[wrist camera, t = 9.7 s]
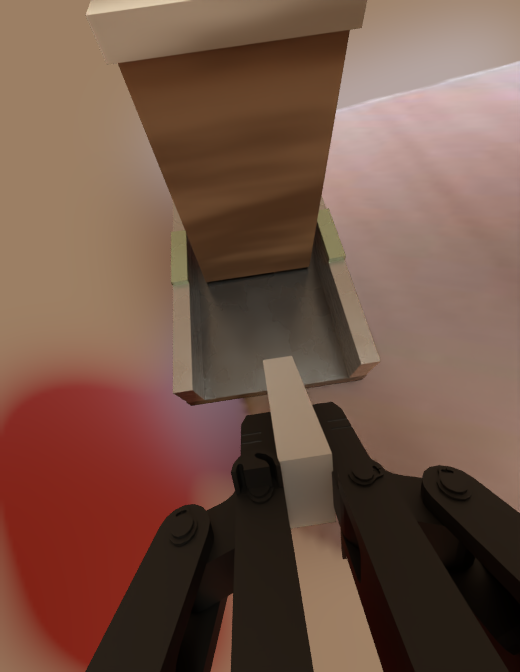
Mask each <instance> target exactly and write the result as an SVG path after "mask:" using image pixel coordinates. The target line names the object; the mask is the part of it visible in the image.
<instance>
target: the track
mask: <svg viewBox="0 0 520 672" xmlns="http://www.w3.org/2000/svg"><path fill="white" fill-rule="evenodd" d="M345 257H346V255H345V252H344V250H343V247H342V244H341V241H340V239H339V236H338V233H337V230H336V228H335V225H334V222H333V219H332V217H331V214H330V211H329V209H326V207H325V204H324V201H323V198H322V195H321V201H320V207H319V213H318V218H317V224H316V230H315V236H314V242H313V247H312V253H311V259H310V265H309V267H304V268H298V269H291V270H284V271H278V272H271V273H265V274H258V275H251V276H245V277H238V278H231V279H225V280H218V281H211V282H206V281H205V279H204V276H203V274H202V271H201V269H200V266H199V264H198V261H197V259H196V256H195V254H194V251H193V249H192V246H191V244H190V241H189V239H188V236H187V234H186V231H185V229H184V226H183V224H182V221H181V219H180V216H179V214H178V212H177V209H176V207H175V204H174V202H173V232H171V283H172V285H173V394H175V395H177V396H178V397H180V398H182V399H183V400H185V401H186V402H187V403H188V404H190V405H191V406H193V405H199V404H206V403H213V402H219V401H226V400H232V399H239V398H245V397H251V396H258V395H264V394H268V392H267V385H266V378H265V372H264V365H263V360H267V359H274V358H280V357H287V356H292V357H293V360H294V362H295V365H296V367H297V370H298V372H299V374H300V377H301V379H302V382H303V384H304V387H305V388H310V387H316V386H323V385H329V384H336V383H342V382H349V381H355V380H362V379H363V378H364V377H365V376H366V375H367V373H368V372H370V371H371V370H372V369H373V368H374V367H375V366H376V365H377V364H378V363H379V362H380V358H379V355H378V352H377V350H376V347H375V344H374V341H373V338H372V336H371V333H370V330H369V327H368V324H367V321H366V319H365V316H364V313H363V310H362V307H361V305H360V302H359V299H358V296H357V293H356V291H355V288H354V285H353V282H352V279H351V277H350V274H349V271H348V268H347V265H346V263H345Z"/></svg>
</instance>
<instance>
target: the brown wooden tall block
mask: <svg viewBox="0 0 520 672" xmlns="http://www.w3.org/2000/svg"><path fill="white" fill-rule="evenodd" d="M366 3H367V0H91V2H90V5H89V8H88V10H87V13H86V17H87V20H88V22H89V24H90V27H91V29H92V31H93V33H94V36H95V38H96V41H97V43H98V45H99V48H100V50H101V52H102V54H103V57H104V59H105V61H106V64H107V65H108V64H115V63H118V65H119V67H120V70H121V73H122V75H123V78H124V80H125V83H126V85H127V87H128V90H129V92H130V95H131V97H132V100H133V102H134V105H135V107H136V110H137V112H138V115H139V117H140V120H141V122H142V124H143V127H144V129H145V132H146V134H147V137H148V140H149V142H150V145H151V147H152V149H153V152H154V154H155V157H156V159H157V162H158V164H159V167H160V169H161V172H162V174H163V177H164V179H165V182H166V184H167V187H168V189H169V192H170V194H171V197H172V199H173V202H174V204H175V207H176V209H177V212H178V214H179V216H180V219H181V221H182V224H183V226H184V229H185V231H186V234H187V236H188V239H189V241H190V244H191V246H192V249H193V251H194V254H195V256H196V259H197V261H198V264H199V266H200V269H201V271H202V274H203V276H204V279H205V281H206V282H211V281H218V280H225V279H231V278H238V277H245V276H251V275H258V274H265V273H271V272H278V271H284V270H291V269H298V268H304V267H309V265H310V259H311V253H312V247H313V242H314V236H315V230H316V224H317V218H318V213H319V207H320V201H321V195H322V189H323V183H324V178H325V172H326V166H327V160H328V154H329V148H330V143H331V137H332V131H333V125H334V119H335V113H336V108H337V102H338V96H339V89H340V84H341V78H342V72H343V67H344V60H345V55H346V49H347V43H348V37H349V31H350V30H351V29H358V28H362V23H363V19H364V13H365V8H366Z"/></svg>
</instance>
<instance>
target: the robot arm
mask: <svg viewBox="0 0 520 672" xmlns="http://www.w3.org/2000/svg"><path fill="white" fill-rule="evenodd" d="M263 365H264V372H265V378H266V385H267V392H268V398H269V405H270V412H267V413H261V414H254V415H248V416H246V417H245V419H244V421H243V423H242V424H241V456H240V457H239V458H238V459H237V460H236V461H235V463H234V464H233V467H232V471H231V475H232V479H233V483H234V487H235V492H234V494H233V495H232V496H231V497H230V498H229V499H227V500H226V501H224V502H223V503H221V504H219V505H217V506H215V507H213V508H211V509H209V510H207V511H206V510H205V509H204V508H203V507H201V506H198V505H195V504H192V505H185V506H182V507H180V508H179V509H176V510H175V511H173V512H172V513H171V514H170V515H169V516H168V517H166V519H165V520H164V522H163V523H162V525H161V526H160V528H159V529H158V531H157V533H156V536H155V537H154V539H153V541H152V543H151V545H150V547H149V549H148V551H147V553H146V555H145V557H144V559H143V561H142V563H141V565H140V566H139V568H138V570H137V573H136V574H135V576H134V578H133V580H132V582H131V584H130V586H129V588H128V590H127V592H126V594H125V596H124V598H123V600H122V602H121V604H120V606H119V608H118V609H117V611H116V613H115V615H114V617H113V619H112V621H111V623H110V625H109V627H108V629H107V631H106V633H105V635H104V637H103V639H102V641H101V643H100V645H99V646H98V648H97V650H96V652H95V654H94V656H93V658H92V660H91V662H90V664H89V666H88V668H87V670H86V672H210V671H211V667H212V662H213V658H214V653H215V649H216V644H217V640H218V636H219V631H220V627H221V623H222V619H223V614H224V610H225V605H226V601H227V597H228V596H229V595H230V594H232V593H233V619H232V652H231V672H314V671H313V665H312V658H311V652H310V646H309V640H308V634H307V628H306V622H305V616H304V609H303V603H302V597H301V591H300V584H299V578H298V572H297V566H296V560H295V553H294V547H293V541H292V535H291V529H292V528H299V527H305V526H312V525H318V524H325V523H331V522H336V515H337V518H338V521H339V524H340V527H341V547H342V557H343V559H348V562H349V565H350V569H351V572H352V575H353V578H354V581H355V584H356V587H357V590H358V594H359V597H360V600H361V603H362V606H363V609H364V612H365V615H366V619H367V622H368V625H369V628H370V631H371V634H372V637H373V640H374V643H375V647H376V649H377V653H378V656H379V659H380V662H381V665H382V668H383V672H520V513H519V512H517V511H516V510H515V509H513V508H512V507H511V506H509V505H508V504H507V503H506V502H504V501H503V500H502V499H500V498H499V497H498V496H496V495H495V494H494V493H492V492H491V491H490V490H489V489H487V488H486V487H485V486H483V485H482V484H481V483H479V482H478V481H477V480H476V479H474V478H473V477H471V476H470V475H468V474H466V473H465V472H463V471H461V470H458V469H455V468H452V467H449V466H440V465H438V466H433V467H429V468H428V469H427V470H425V471H424V473H423V477H422V478H418V477H410V476H403V475H398V474H393V473H390V472H388V471H386V470H385V469H384V468H383V467H382V466H381V465H380V464H378V463H377V462H375V461H374V460H372V459H371V458H370V457H369V456H368V454H367V452H366V450H365V449H364V447H363V445H362V443H361V442H360V440H359V438H358V437H357V435H356V433H355V431H354V430H353V428H352V427H351V424H350V423H349V421H348V420H347V417H346V416H345V414H344V412H343V411H342V409H341V408H340V407H338V406H337V405H336V404H334V403H333V402H328V403H321V404H315V405H312V404H311V401H310V399H309V396H308V394H307V391H306V389H305V387H304V384H303V382H302V379H301V377H300V374H299V372H298V370H297V367H296V365H295V362H294V360H293V357H292V356H287V357H280V358H274V359H267V360H263ZM335 512H336V514H335ZM346 556H347V557H346Z"/></svg>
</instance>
